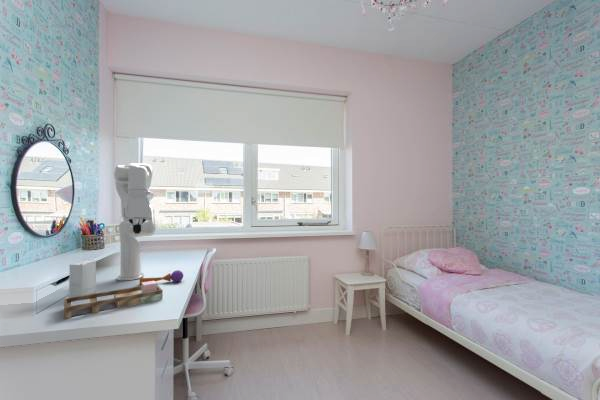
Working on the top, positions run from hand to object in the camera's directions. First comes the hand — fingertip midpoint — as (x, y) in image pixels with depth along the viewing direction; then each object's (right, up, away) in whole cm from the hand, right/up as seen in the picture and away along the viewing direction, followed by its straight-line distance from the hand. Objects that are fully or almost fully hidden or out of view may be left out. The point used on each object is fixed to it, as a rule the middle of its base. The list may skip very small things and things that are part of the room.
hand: (137, 233), depth 126 cm
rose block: (+10, -25, -7) cm, 27 cm away
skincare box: (-21, -27, -5) cm, 35 cm away
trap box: (0, -27, -14) cm, 31 cm away
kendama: (+4, -28, +15) cm, 32 cm away
